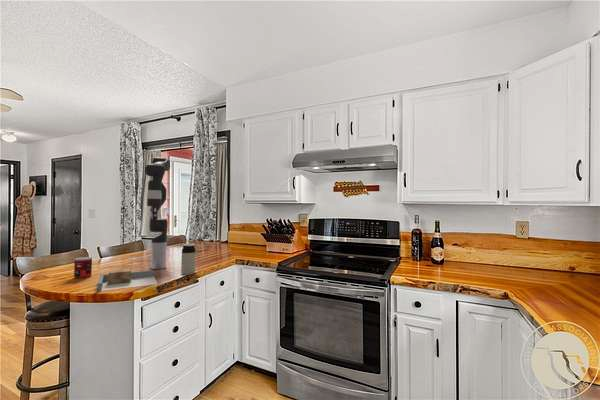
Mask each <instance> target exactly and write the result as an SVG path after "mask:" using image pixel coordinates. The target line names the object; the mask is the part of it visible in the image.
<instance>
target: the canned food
mask: <svg viewBox="0 0 600 400" xmlns="http://www.w3.org/2000/svg"><path fill="white" fill-rule="evenodd" d="M73 263H74V267H73V268H74V269H73V278H74V279H76V280H83V279H89V278H91V277H92V270H93V268H92V267H93V257H92V256H84V257H83V256H80V257H76V258H74V262H73Z"/></svg>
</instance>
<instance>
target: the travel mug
mask: <svg viewBox="0 0 600 400" xmlns="http://www.w3.org/2000/svg"><path fill="white" fill-rule="evenodd" d="M195 245H196V244H195V243H184V244H182V248H181V265H180V266H181V269H180V270H181V271H180V273H181V275H185V276H188V275H193V274H195V273H196V248H195Z"/></svg>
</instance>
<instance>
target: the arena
mask: <svg viewBox="0 0 600 400" xmlns="http://www.w3.org/2000/svg"><path fill="white" fill-rule="evenodd" d="M108 275H109V273H105V274H100V275H99V279H98V280H97V292H100V291H101V292H102V291H110V290H118V289H119V290H121V289H127V288H129V289H130V288H135V287H143V286H153V285H158V282H157V280H156V278H155V269H148V270H138V271H131V282H129V283H120V284H111V285H108Z"/></svg>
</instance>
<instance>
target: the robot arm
mask: <svg viewBox="0 0 600 400" xmlns="http://www.w3.org/2000/svg"><path fill="white" fill-rule="evenodd" d="M170 169H171V161H170V159H169V158H166V157H157V156H156V157H154V156H153V158H152V160H151V163H148V164H146V166H145V167H144V173H145V174H146V176H148V177H152V178H151V179H152V180H149V181H148V182H147V192H146V193H147V195H146V207H150V209H149V217H150V219H149V231H150V232H151V233H161V234H159V235H157V236H154V237H152V238H151V248H150V250H151V251H150V253H151V254H150V270H159V269H165V268H166V267H167V250H168V249H167V245H168V244H167V241H168V226H169V223H168V222H169V221H168V219H167V218H160V217H159V218H158V216H159V210H160V209H161V208H162V207H163V205H164V203H165V202H166V201H167V188H166V186H165V184H163V183H164V182H163V179H164V176H165V173H166V172H168V171H169V170H170Z"/></svg>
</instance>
